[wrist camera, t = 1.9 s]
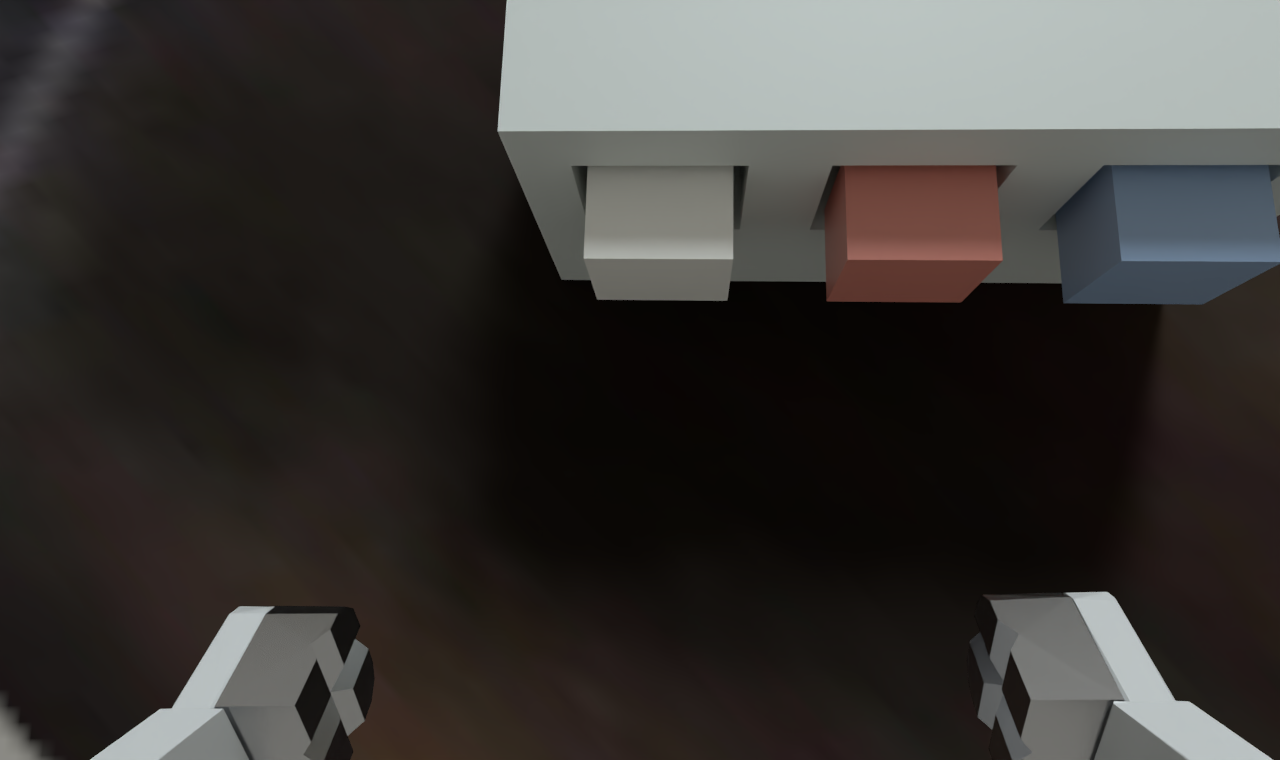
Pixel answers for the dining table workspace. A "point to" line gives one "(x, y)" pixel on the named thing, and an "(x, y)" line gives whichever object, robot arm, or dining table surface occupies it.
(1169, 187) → the blue key
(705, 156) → the key console
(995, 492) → the dining table surface
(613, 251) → the white key
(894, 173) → the red key
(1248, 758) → the robot arm
